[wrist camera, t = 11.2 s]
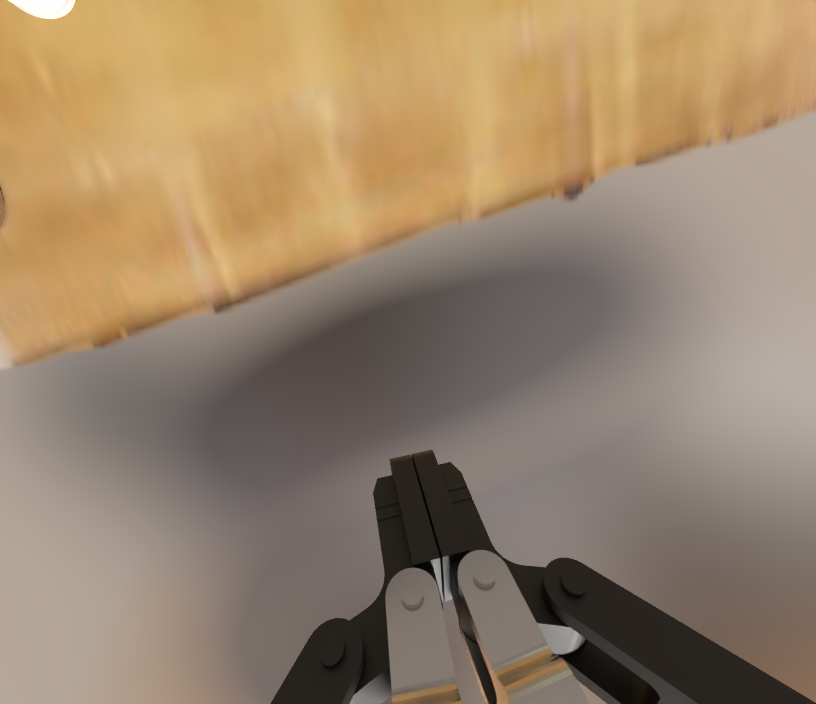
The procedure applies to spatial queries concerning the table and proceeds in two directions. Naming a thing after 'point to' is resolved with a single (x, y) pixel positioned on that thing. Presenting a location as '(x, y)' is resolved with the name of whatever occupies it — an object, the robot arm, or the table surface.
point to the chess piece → (45, 7)
